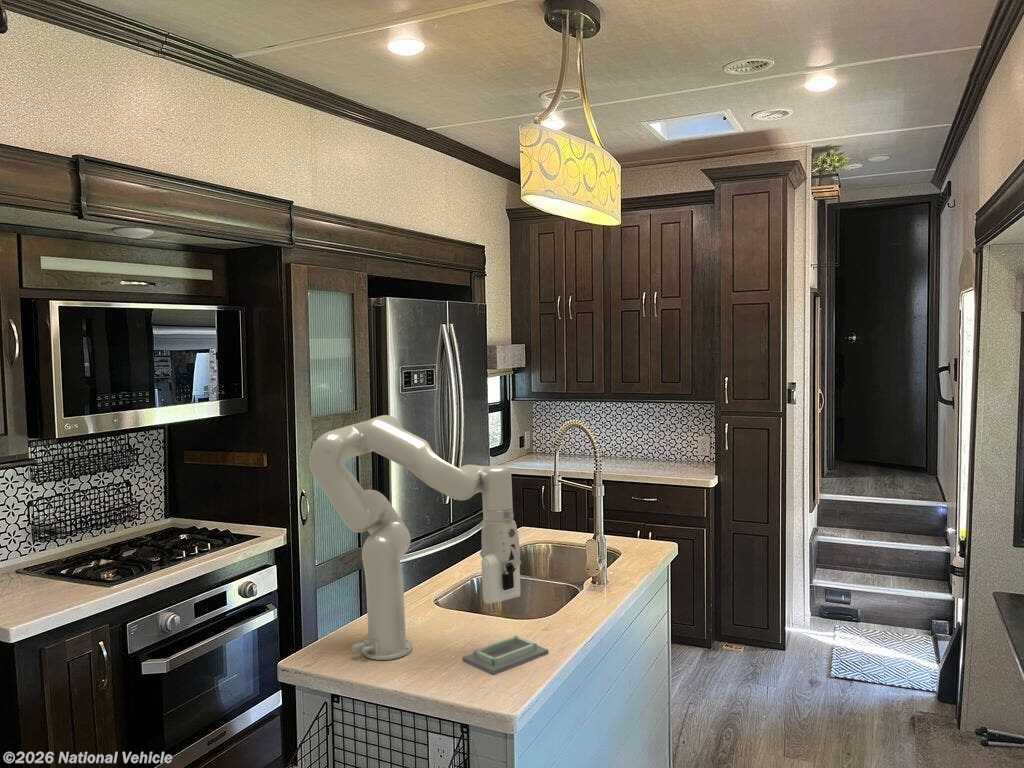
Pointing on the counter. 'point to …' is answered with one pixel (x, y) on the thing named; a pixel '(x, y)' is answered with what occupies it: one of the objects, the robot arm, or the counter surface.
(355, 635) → the counter surface
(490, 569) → the photo printer
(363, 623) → the counter surface
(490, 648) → the dock
